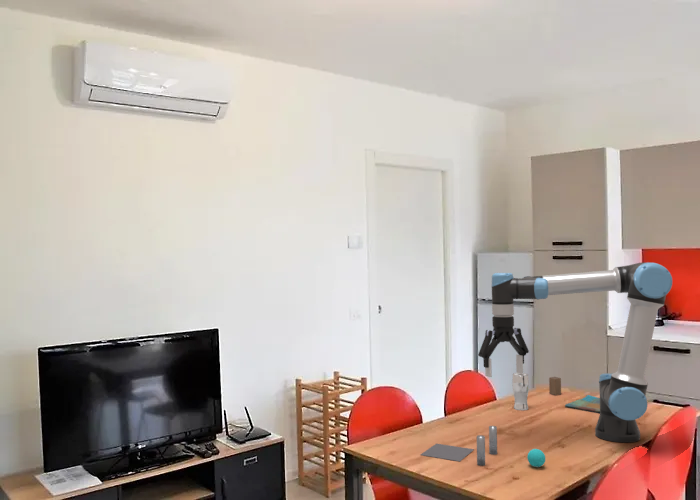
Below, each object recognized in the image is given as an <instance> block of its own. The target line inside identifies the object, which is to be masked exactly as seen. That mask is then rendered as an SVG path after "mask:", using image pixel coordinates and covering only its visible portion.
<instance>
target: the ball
mask: <svg viewBox="0 0 700 500" xmlns="http://www.w3.org/2000/svg"><path fill="white" fill-rule="evenodd" d="M526 458H527V462H528V463H529V464H530V466H532V467H535V468H540V467H542V466H544V465H545V462H546V455H545V453H544V452H543V451H542V450H541V449H538V448H532V449H530V450H529V452H528V453H527V456H526Z"/></svg>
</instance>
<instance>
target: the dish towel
mask: <svg viewBox="0 0 700 500" xmlns="http://www.w3.org/2000/svg"><path fill="white" fill-rule="evenodd" d="M564 408H566V409H571V410H575V411H576V410H577V411H584V412H590V413H595V414H599V415H600V397H597V396H593V395H589V394H588V395H585V397H583V398H580V399H576V400H573V401H571V402H569V403H566V404H565V405H564Z"/></svg>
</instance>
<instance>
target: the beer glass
mask: <svg viewBox="0 0 700 500" xmlns="http://www.w3.org/2000/svg"><path fill="white" fill-rule="evenodd" d="M511 381H512V382H511V384H512V392H513V397H514V403H513V404H514V405H513V409H514V410H516V411H528V410H529V406H528V404H529V403H528V395H529V390H530V389H529V388H530V382H529V381H530V380H529V374H528V373H525V372H523V374H520V373H517V372H514V373H513V374H512V380H511Z"/></svg>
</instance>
